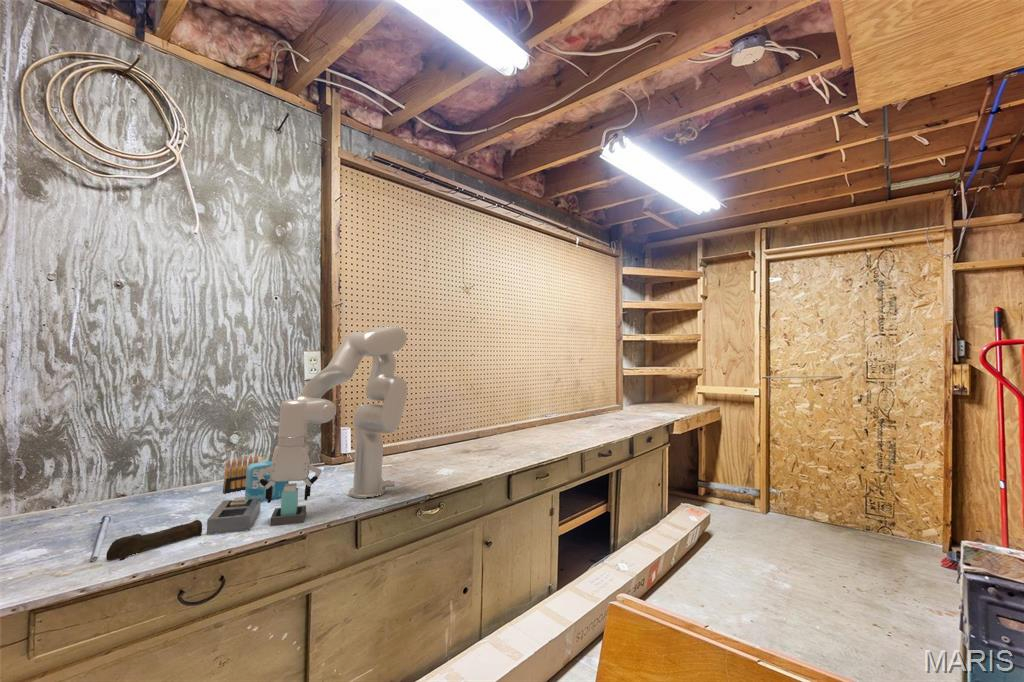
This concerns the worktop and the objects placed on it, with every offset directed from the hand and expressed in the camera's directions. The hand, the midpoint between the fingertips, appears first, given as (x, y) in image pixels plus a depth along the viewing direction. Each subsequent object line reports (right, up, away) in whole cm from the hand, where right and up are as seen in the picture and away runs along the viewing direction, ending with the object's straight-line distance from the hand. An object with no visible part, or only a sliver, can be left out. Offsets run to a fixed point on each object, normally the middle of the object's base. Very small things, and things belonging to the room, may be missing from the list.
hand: (288, 500), depth 126 cm
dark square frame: (0, -6, 0) cm, 6 cm away
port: (-14, -5, -3) cm, 15 cm away
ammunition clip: (-30, -6, +26) cm, 40 cm away
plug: (0, -6, 0) cm, 6 cm away
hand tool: (-22, -5, -20) cm, 30 cm away
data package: (-16, -6, +17) cm, 25 cm away
